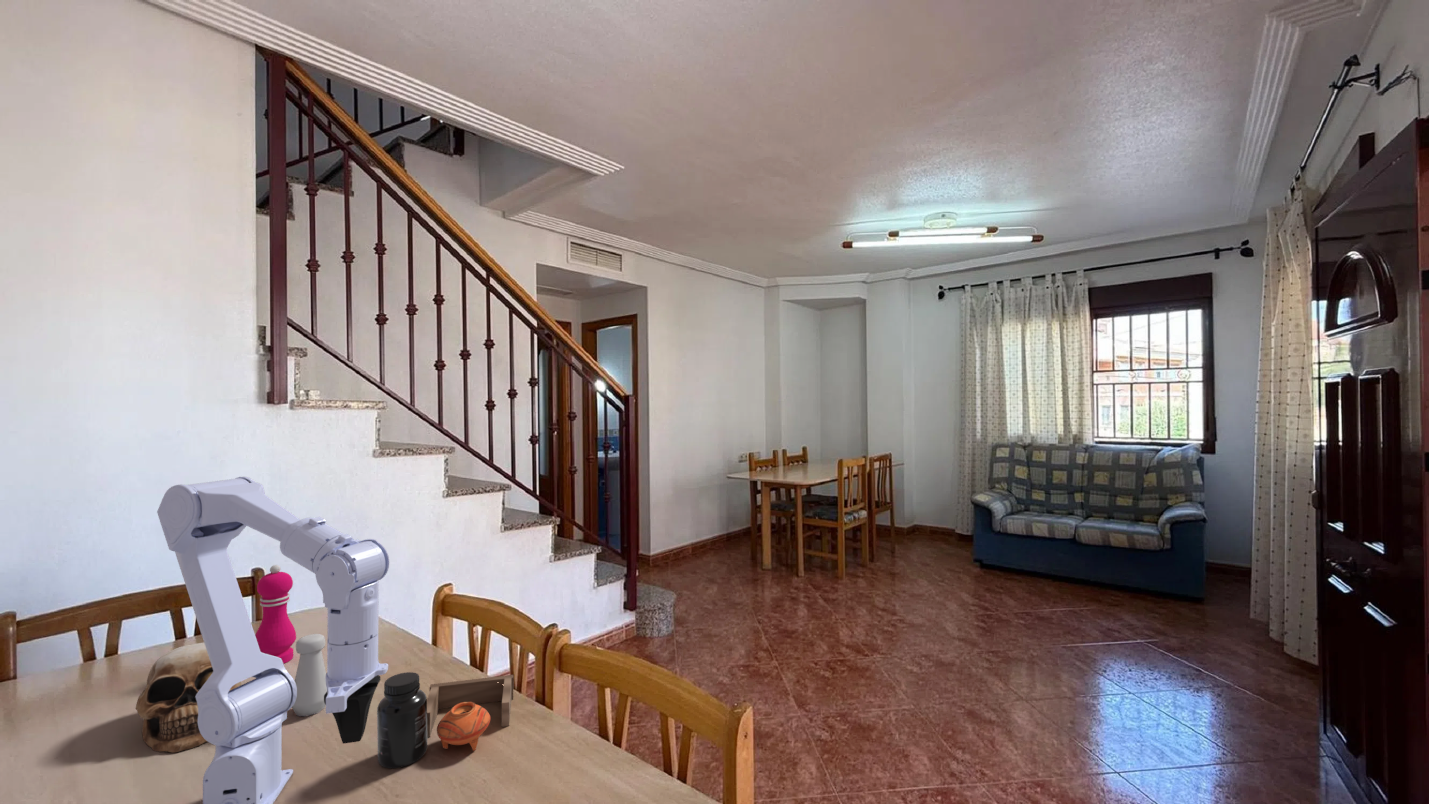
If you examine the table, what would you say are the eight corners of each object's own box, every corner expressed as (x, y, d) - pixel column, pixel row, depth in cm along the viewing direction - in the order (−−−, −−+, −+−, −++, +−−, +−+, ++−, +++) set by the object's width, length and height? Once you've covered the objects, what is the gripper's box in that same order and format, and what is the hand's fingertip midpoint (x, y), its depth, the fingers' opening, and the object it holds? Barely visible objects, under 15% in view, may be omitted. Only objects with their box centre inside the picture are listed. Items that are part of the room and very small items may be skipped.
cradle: (510, 725, 100) (511, 701, 100) (419, 738, 96) (419, 713, 96) (513, 696, 110) (513, 674, 110) (430, 706, 106) (430, 684, 106)
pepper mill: (258, 657, 125) (258, 562, 125) (299, 651, 128) (299, 558, 128) (248, 671, 118) (248, 571, 118) (291, 665, 121) (292, 567, 121)
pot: (504, 736, 96) (496, 700, 95) (461, 771, 90) (452, 734, 89) (474, 719, 101) (466, 685, 99) (431, 752, 95) (422, 716, 93)
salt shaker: (309, 721, 101) (309, 645, 101) (281, 717, 102) (281, 641, 102) (337, 703, 107) (338, 631, 106) (310, 700, 108) (311, 628, 108)
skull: (180, 755, 91) (177, 666, 91) (99, 750, 95) (96, 665, 96) (278, 707, 106) (275, 631, 107) (204, 704, 110) (202, 631, 111)
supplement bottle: (415, 738, 96) (415, 664, 96) (435, 754, 92) (435, 677, 92) (369, 757, 91) (369, 679, 91) (388, 776, 87) (388, 694, 86)
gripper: (372, 656, 72) (372, 767, 72) (399, 613, 86) (399, 707, 86) (305, 663, 70) (305, 777, 70) (344, 618, 84) (343, 714, 84)
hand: (352, 739), depth 78 cm, fingers closed
